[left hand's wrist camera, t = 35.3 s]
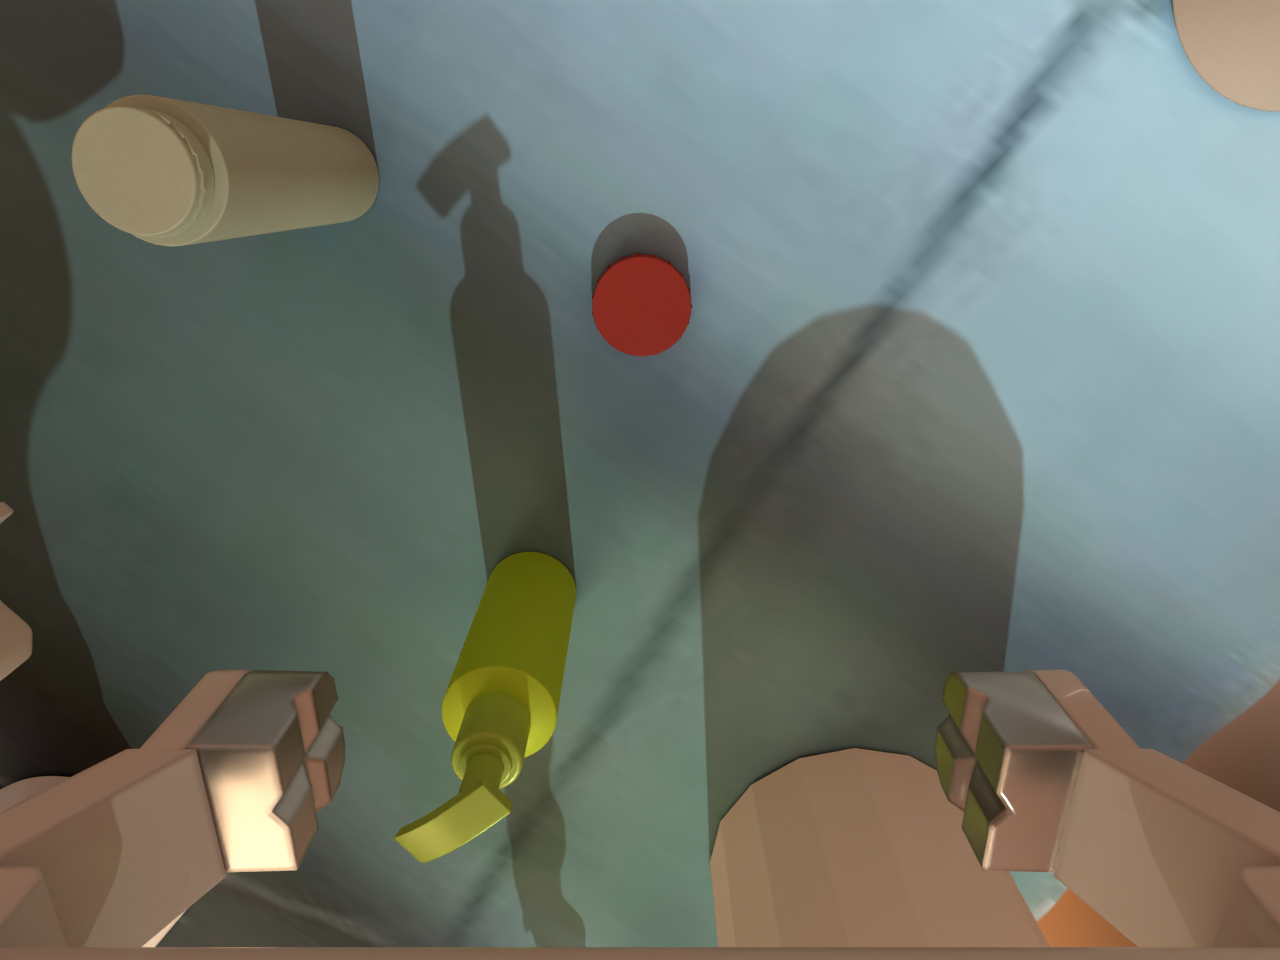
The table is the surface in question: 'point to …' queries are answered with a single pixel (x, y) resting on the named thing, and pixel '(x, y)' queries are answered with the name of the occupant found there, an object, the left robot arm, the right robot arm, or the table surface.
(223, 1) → the table surface
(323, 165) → the jar
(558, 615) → the soap dispenser
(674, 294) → the lid
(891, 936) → the container
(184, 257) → the table surface
